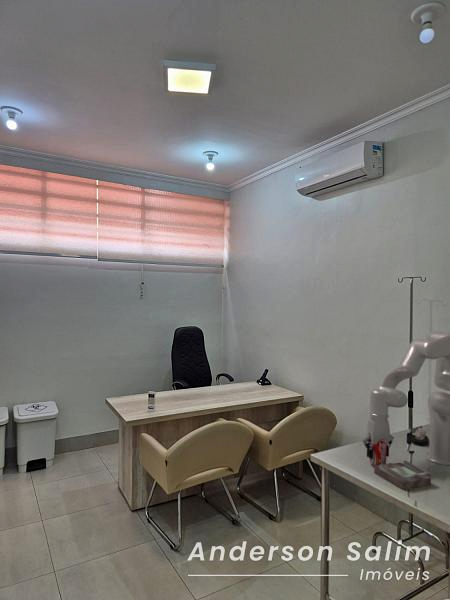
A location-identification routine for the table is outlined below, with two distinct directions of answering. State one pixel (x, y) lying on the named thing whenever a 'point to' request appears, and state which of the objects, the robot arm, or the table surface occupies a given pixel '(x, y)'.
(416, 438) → the caster wheel
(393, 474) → the frame
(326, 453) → the table surface
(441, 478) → the table surface
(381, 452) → the soda can
